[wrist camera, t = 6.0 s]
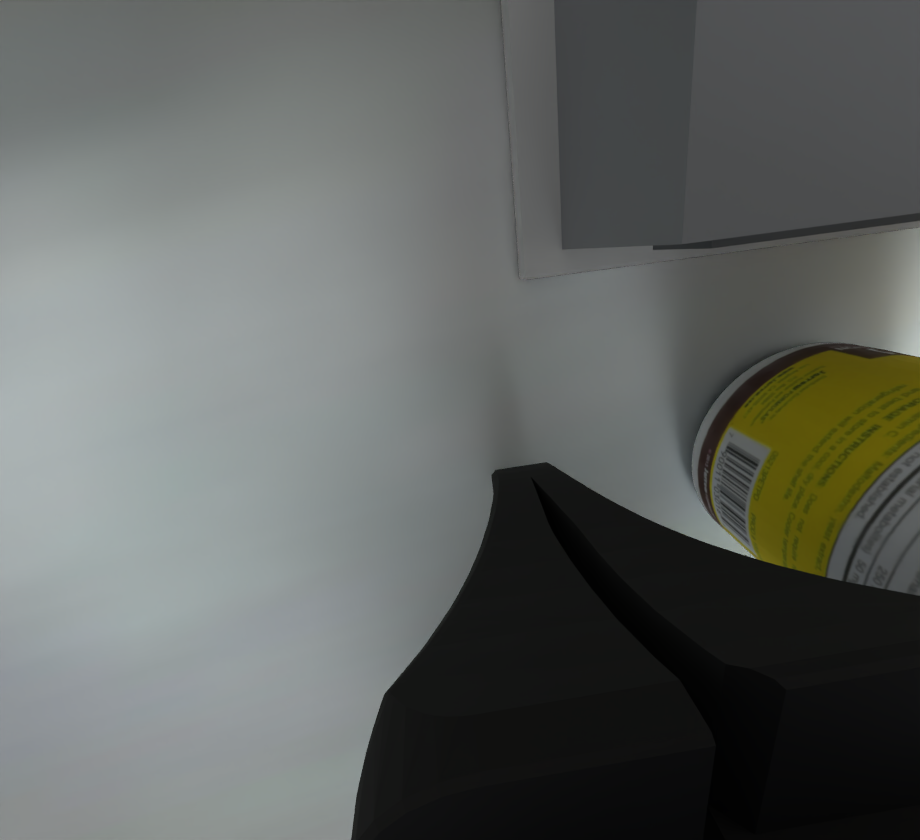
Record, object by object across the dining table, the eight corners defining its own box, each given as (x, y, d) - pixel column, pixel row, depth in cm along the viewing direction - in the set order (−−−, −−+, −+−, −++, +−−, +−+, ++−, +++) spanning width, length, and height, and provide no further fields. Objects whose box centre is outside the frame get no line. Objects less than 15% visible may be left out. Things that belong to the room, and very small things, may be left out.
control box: (931, 223, 10) (1383, 195, 5) (519, 278, 10) (610, 300, 5) (1024, -142, 8) (1939, -747, 3) (494, -86, 7) (616, -664, 3)
